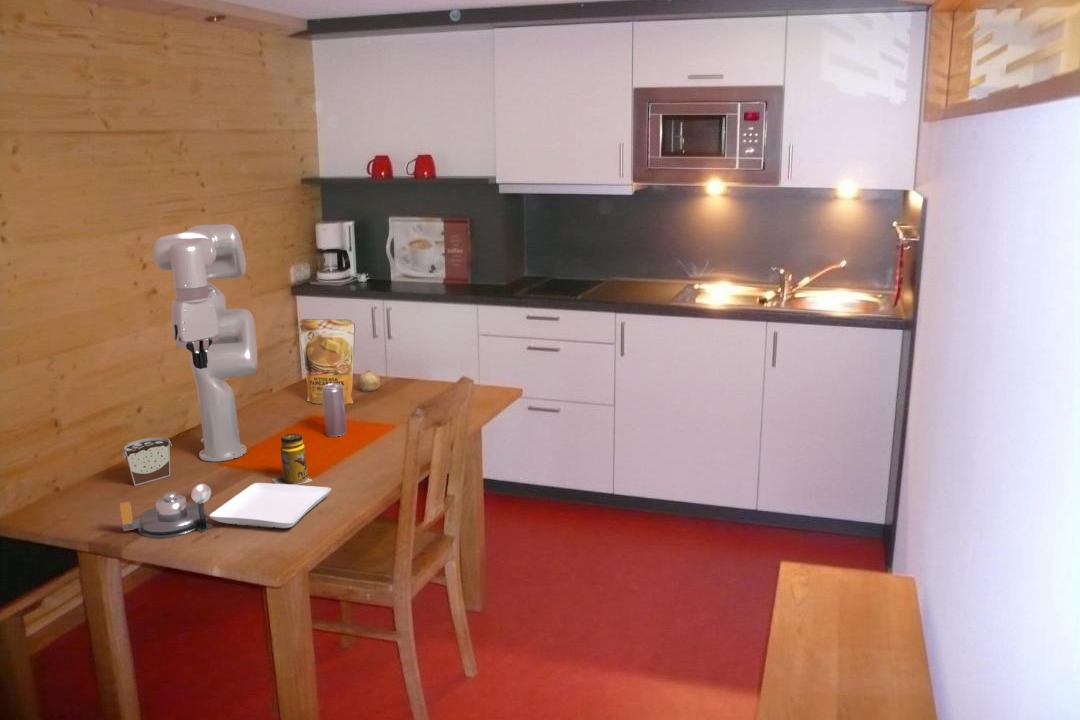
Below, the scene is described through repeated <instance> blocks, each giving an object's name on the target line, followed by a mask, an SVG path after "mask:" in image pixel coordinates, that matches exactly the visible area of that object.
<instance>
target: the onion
mask: <svg viewBox="0 0 1080 720" xmlns="http://www.w3.org/2000/svg"><path fill="white" fill-rule="evenodd" d="M364 370H365V371H366V372H363V373H362V374H360V375H359V376H358V378H357V381H356V382H357V386H358V388H359V389H360V390H361V391H362V392H363V393H367V392H369V393H371V392H375V391H376V390H378V389H379V388H380V386H381V378H380V376H379V375H378V374H377V373H376V372H374V371H373V370H371V369H368V370H367V369H364Z"/></svg>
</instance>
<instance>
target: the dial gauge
mask: <svg viewBox="0 0 1080 720" xmlns="http://www.w3.org/2000/svg"><path fill="white" fill-rule="evenodd" d="M211 494H212V490H211V488H210V486H209V485H207V484H206V483H198V484H196V485H195V486H194V487H193V488H192V490H191V494H190V496H191V497H190V498H191V500H192V501H193V503H197V504H198V509H199V517H200V524H201V525H198V526H195V527H194V528H196V531H197V530H198V531H197V532H199V533H201V532H202V533H205V532H206V530H207V531H210V530H212V528H213V529H214V525H212V524H210V523H209V522H207V523H206V519H205V513H206V512H205V511H206V510H205V511H204V509H205V504H204V503H206V502H208V501H209V499H210V498H211ZM209 529H210V530H209Z"/></svg>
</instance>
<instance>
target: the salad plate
mask: <svg viewBox="0 0 1080 720" xmlns="http://www.w3.org/2000/svg"><path fill="white" fill-rule="evenodd" d="M331 490H332V488H331V487H329V486H328V487H327V486H315V485H314V486H313V485H312V486H311V485H301V484H297V485H287V484H276V483H271V482H270V483H268V482H254V483H252V484H251V485H248V487H246V488H245V489H242V490H241V491H240V492H239V493H237V494H236V495H235V496H233V497H232V498H230V499H229V500H228V501H226V502H225V503H224V504H222V505H221V506H220V507H218V508H217V509H215V510H214V511H213V512H211V513H210V514H209V515H208V518H210V519H212V520H214V521H215V522H219V523H223V524H230V525H231V524H232V525H235V524H237V526H245V525H249V526H248V527H258V526H260V528H273V527H275V528H274V529H288V528H292V527H294V526H295V525H296V524H297V523H298V522H299V520H301V519H302V517H304V516H305V515H306V514H307V513H309V512H310V510H312V509H313V508H314V507H315V506H317V505H318V504H319V503H321V501H323V500H324V499H325V498H326V497H327V496H328V495H329V494H330V492H331Z"/></svg>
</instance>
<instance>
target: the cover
mask: <svg viewBox="0 0 1080 720" xmlns="http://www.w3.org/2000/svg"><path fill="white" fill-rule="evenodd" d="M186 502H187V498H186V497H185V495H182V494H177V492H176V491H167V492H164V493H163V496H162V497H160V498H158V499H157V500H156V501H155V508H156V510H157V517H158V520H159V521H160V522H174V521H178V520H181V519H183V518H185V517H186V516H187V515H188V513H187V505H186Z"/></svg>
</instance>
